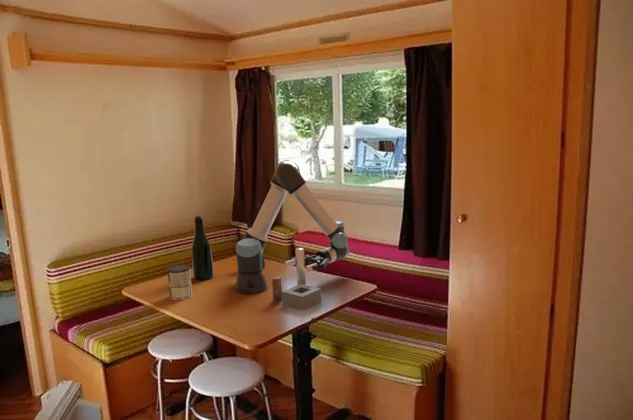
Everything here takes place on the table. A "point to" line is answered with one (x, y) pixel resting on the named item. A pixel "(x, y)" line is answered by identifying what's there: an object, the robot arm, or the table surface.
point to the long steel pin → (300, 266)
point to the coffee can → (179, 282)
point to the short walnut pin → (277, 289)
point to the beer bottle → (201, 253)
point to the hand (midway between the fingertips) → (295, 267)
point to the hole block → (301, 296)
